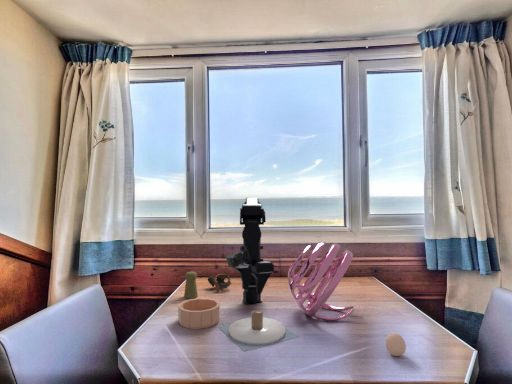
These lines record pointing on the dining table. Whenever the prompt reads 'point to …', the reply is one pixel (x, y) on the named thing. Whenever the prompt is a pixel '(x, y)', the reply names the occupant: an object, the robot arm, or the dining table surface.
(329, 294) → the spiral basket
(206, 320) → the terracotta bowl
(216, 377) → the dining table surface
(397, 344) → the egg
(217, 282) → the pottery mug
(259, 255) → the robot arm
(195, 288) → the green tapered peg
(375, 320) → the dining table surface
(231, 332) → the ceramic lid
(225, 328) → the rubber mat
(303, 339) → the dining table surface
